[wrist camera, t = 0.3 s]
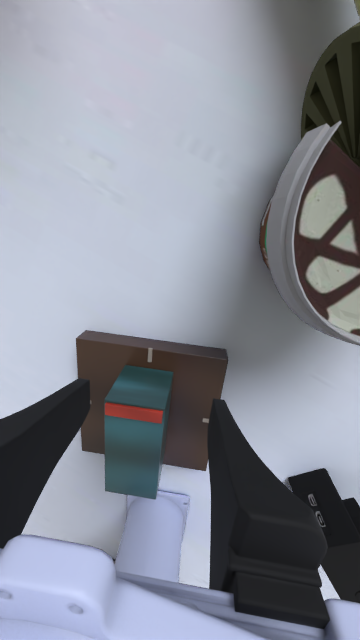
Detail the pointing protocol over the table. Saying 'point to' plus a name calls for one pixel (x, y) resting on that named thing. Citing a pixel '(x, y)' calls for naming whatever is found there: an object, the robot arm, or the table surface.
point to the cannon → (337, 92)
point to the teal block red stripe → (136, 430)
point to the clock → (186, 396)
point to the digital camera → (334, 530)
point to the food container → (317, 236)
